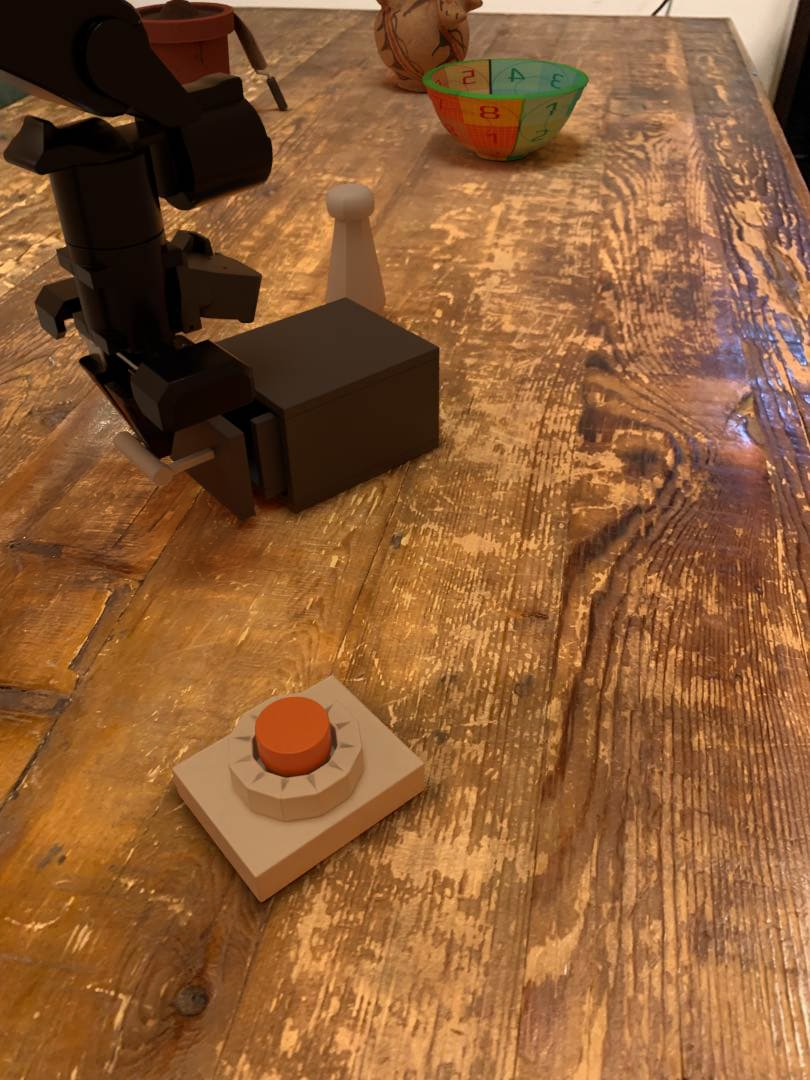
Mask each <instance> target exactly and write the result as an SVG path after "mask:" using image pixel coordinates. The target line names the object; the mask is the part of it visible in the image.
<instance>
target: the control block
mask: <svg viewBox="0 0 810 1080" xmlns="http://www.w3.org/2000/svg"><path fill="white" fill-rule="evenodd" d="M287 697H305V698H309V699H312V700H314V701H316V702H317V703H319V704H320V705H321V706H322V707H323V708H324V709H325V710H326V712H327V714H328V716H329V722H330V732H331V742H332V746H331V751H330V754H329V756H328V757H327V759H326V760H325V762H324V763H323V764H322V765H321V766H320V767H318V768H317V769H315V770H314V771H312V772H310V773H307V774H304V775H300V776H283V775H279V774H276V773H274V772H272V771H271V770H269V769H268V768H267V767H266V766H265V765H264V764H263V763H262V761H261V759H260V757H259V752H258V747H257V741H256V736H255V723H256V720H257V718H258V716H259V714H260V713H261V712H262V711H263V710H264V709H265V708H266V707H267V706H268V705H270V704H271V703H273V702H275V701H277V700H280V699H283V698H287ZM171 772H172V775H173V779H174V783H175V786H176V790H177V793H178V795H179V797H180V798H181V800H182V801H183V802H184V804H185V805H186V806H187V808H188V809H189V810H190V812H191V813H192V814H193V815H194V817H195V819H196V820H197V821H198V822H199V824H200V825H201V826H202V827H203V829H204V830H205V831H206V833H207V834H208V835H209V837H210V838H211V839H212V841H213V842H214V844H216V846H217V847H218V849H219V850H220V851H221V853H222V854H223V855H224V857H225V858H226V859H227V860H228V862H229V864H230V865H231V866H232V867H233V868H234V870H235V871H236V872H237V874H238V875H239V877H240V878H241V879H242V880H243V882H244V883H245V885H246V886H247V887H248V888H249V890H250V891H251V893H252V894H253V895H254V896H255V898H256V899H257V900H258V902H259V903H263V902H265V901H266V900H268V899H270V898H271V897H272V896H273V895H275V894H277V893H278V892H279V891H281V890H283V888H285V887H286V886H288V885H290V884H291V883H292V882H294V881H296V880H297V879H298V878H300V877H301V876H302V875H305V873H307V872H308V871H309V870H311V869H313V867H315V866H317V865H318V864H320V863H321V862H322V861H324V860H325V859H327V858H328V857H330V856H331V855H332V854H334V853H335V852H337V851H339V850H340V849H341V848H343V847H344V846H345V845H347V844H349V843H350V842H351V841H353V840H355V838H357V837H359V836H360V835H361V834H363V833H364V832H366V831H367V830H369V829H370V828H371V827H373V826H374V825H376V824H377V823H379V822H380V821H381V820H383V819H385V818H386V817H387V816H389V815H390V814H392V813H393V812H394V811H396V810H398V809H399V808H400V807H401V806H403V805H405V804H407V802H409V801H410V800H412V799H413V798H414V797H416V796H417V795H419V794H420V793H422V792H423V791H424V790H425V762H424V761H423V760H422V759H421V758H420V757H419V756H418V755H416V754H415V752H414V751H412V750H411V748H409V747H408V746H407V745H406V744H405V743H404V742H403V741H402V740H401V739H400V738H399V737H398V736H397V735H396V734H395V733H394V732H393V731H391V729H390V728H388V727H387V725H385V724H384V723H383V722H382V721H381V720H380V719H379V718H378V717H377V716H376V715H375V714H374V713H373V712H372V711H371V710H370V709H369V708H368V707H367V706H366V705H365V704H364V703H362V702H361V701H360V699H358V698H357V697H356V695H354V694H353V693H352V692H351V691H350V690H349V689H348V688H347V687H346V686H345V685H344V684H343V683H342V682H341V681H340V680H339V679H338V678H336V676H335V675H333V674H329V676H327V677H325V678H323V679H322V680H320V681H318V682H317V683H315V684H313V685H312V686H310V687H308V688H306V689H305V690H303V691H302V692H294V693H293V692H292V693H287V694H278V695H274V696H271V697H269V698H267V699H266V700H264V701H262V702H261V703H259V704H257V705H255V706H254V707H252V708H250V709H248V710H247V711H245V712H243V714H242V715H241V717H240V719H239V720H238V722H237V723H236V725H235V726H234V728H233V729H232V730H231V732H230V733H229V734H227V735H226V736H223V737H221V738H220V739H219V740H217V741H215V742H214V743H211V744H209V745H208V746H206V747H205V748H203V749H201V750H200V751H197V752H195V753H194V754H192V755H191V756H189V757H188V758H186V759H184V760H182V761H180V762H179V763H177V764H175V765H174V766H172V767H171Z"/></svg>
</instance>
